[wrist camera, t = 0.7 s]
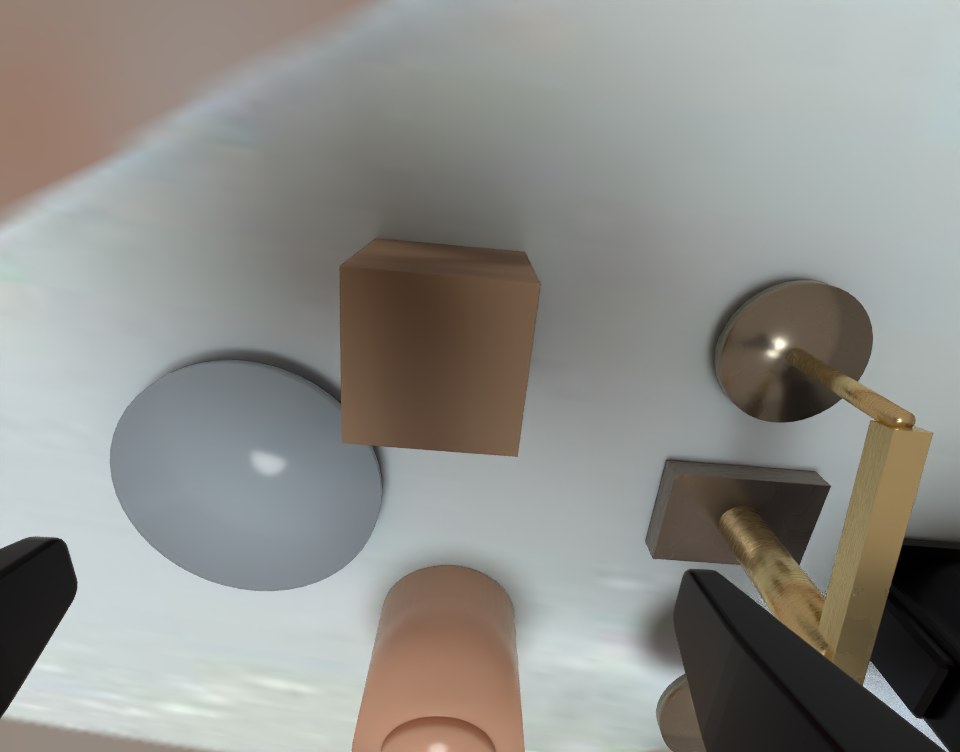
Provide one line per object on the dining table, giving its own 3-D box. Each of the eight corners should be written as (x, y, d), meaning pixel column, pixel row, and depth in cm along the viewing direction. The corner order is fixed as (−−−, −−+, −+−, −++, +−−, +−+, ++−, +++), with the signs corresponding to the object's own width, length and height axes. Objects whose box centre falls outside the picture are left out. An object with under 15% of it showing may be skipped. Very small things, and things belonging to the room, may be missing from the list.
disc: (387, 365, 19) (382, 377, 18) (382, 579, 23) (377, 599, 22) (107, 343, 19) (86, 353, 18) (148, 563, 23) (132, 582, 22)
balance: (886, 284, 18) (1218, 386, 10) (736, 677, 25) (859, 922, 17) (715, 269, 18) (910, 359, 10) (613, 669, 25) (676, 914, 17)
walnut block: (524, 251, 18) (540, 284, 13) (508, 386, 20) (517, 456, 15) (375, 238, 18) (339, 266, 13) (373, 376, 20) (341, 443, 15)
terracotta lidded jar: (521, 569, 23) (536, 715, 17) (506, 668, 25) (515, 828, 19) (382, 560, 23) (347, 704, 17) (380, 660, 25) (348, 819, 19)
